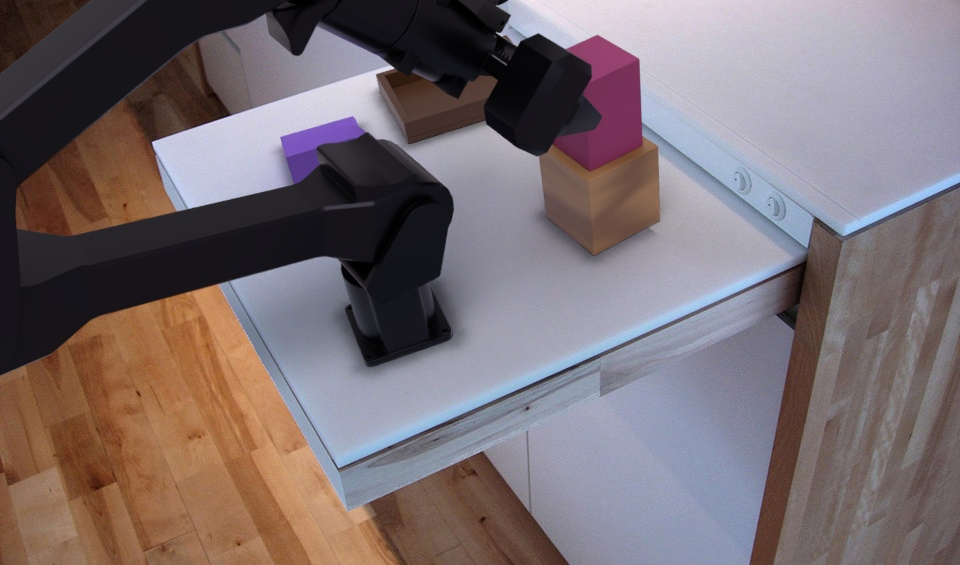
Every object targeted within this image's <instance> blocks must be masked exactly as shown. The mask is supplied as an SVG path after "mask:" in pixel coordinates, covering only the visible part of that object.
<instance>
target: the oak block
mask: <svg viewBox="0 0 960 565" xmlns="http://www.w3.org/2000/svg"><path fill="white" fill-rule="evenodd" d="M642 139H643V145H642V146H640V147H638V148H636V149H634V150H632V151H630V152H628V153H626V154H624V155H623V156H621V157H619V158H617V159H615V160H613V161H611V162H609V163H607V164H605V165H603V166H601V167H599V168H597V169H595V170H593V171H589V170H587V169H586V168H584V167H583V166H582V165H580V164H579V163H578V162H576V161H575V160H574V159H572V158H571V157H569V156H568V155H567V154H565V153H564V152H563V151H561V150H560V149H559V148H557V147H556V146H554V145H553V144H552V146H551V147H550V149H549V151H548V152H547V153H545V154H543V155H540V156H538V160H539V169H540V177H541V185H542V193H543V202H544V203H543V204H544V211H545V217H546V218H547V219H548V220H550V221H551V222H552V223H553V224H555V225H556V226H557V227H558V228H560V229H561V230H562V231H563V232H565V233H566V234H567V235H568V236H569V237H570V238H571V239H572V240H573V241H575V242H576V243H578V244H579V245H580V246H581V247H582V248H583V249H585V250H586V251H587V252H589V253H590V254H591V255H592V256H597V255H599V254H600V253H602V252H604V251H606V250H608V249H609V248H611V247H613V246H615V245H617V244H620V243H621V242H623V241H625V240H627V239H628V238H630V237H632V236H634V235H636V234H638V233H640V232H642V231H643V230H646V229H647V228H649V227H651V226H653V225H654V224H657V223H658V222H660V221H661V209H660V208H661V202H660V201H661V200H660V197H661V196H660V168H659V167H660V164H659V162H660V160H659V159H660V157H659V146H658V144H656V143H654V142H653V141H651V140H650V139H648V138H647V137H646V136H644V135H642Z"/></svg>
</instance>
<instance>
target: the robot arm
mask: <svg viewBox="0 0 960 565" xmlns="http://www.w3.org/2000/svg"><path fill="white" fill-rule="evenodd" d="M507 2H509V0H89V1H88V2H87V3H85V4H84V5H83V6H82V7H80V8H79V9H78V10H77V11H75V13H73V14H71V16H69V17H68V18H67V19H65V21H63V22H62V23H61V24H60V25H59V26H57V27H56V28H54V29H53V30H52V31H51V32H49V34H47V35H46V36H44V37H43V38H42V39H41V40H40V41H39V42H38V43H36V44H35V45H33V46H32V47H31V48H30V49H28V51H26V52H25V53H24V54H22V55H21V56H20V57H19V58H18V59H17V60H15V61H14V62H13V63H11V65H9V66H8V67H7V68H6V69H4V70H3V71H2V72H0V377H2V376H4V375H7V374H9V373H11V372H14V371H16V370H19V369H20V368H23V367H25V366H28V365H30V364H32V363H35V362H37V361H39V360H42V359H44V358H47V357H49V356H51V355H52V354H54V353H55V352H56V351H57V350H58V349H59V348H61V347H62V346H63V345H64V344H65V343H67V341H69V340H70V339H71V338H72V337H73V336H75V335H76V334H77V333H78V332H79V331H80V330H81V329H82V328H84V327H85V326H86V325H87V324H88V323H90V322H91V321H92V320H95V319H97V318H99V317H102V316H105V315H110V314H114V313H118V312H122V311H124V310H129V309H132V308H136V307H140V306H143V305H147V304H150V303H155V302H158V301H161V300H162V301H163V300H165V299H169V298H173V297H176V296H181V295H183V294H188V293H191V292H195V291H199V290H202V289H205V288H206V289H207V288H210V287H213V286H217V285H221V284H224V283H229V282H232V281H235V280H239V279H244V278H247V277H250V276H254V275H259V274H262V273H266V272H269V271H273V270H276V269H280V268H284V267H287V266H291V265H296V264H298V263H302V262H306V261H309V260H313V259H318V258H332V259H337V260H338V261H339V262H340V272H341V276H342V278H343V279H342V280H343V283H344V286H345V289H346V293H347V296H348V299H349V304H347V305H346V306H345V308H344V311H345V314H346V317H347V320H348V322H349V325H350V328H351V331H352V333H353V336H354V338H355V341H356V344H357V346H358V349H359V351H360V354H361V357H362V359H363V362H364V364H365V365H366V366H369V367H372V366H375V365H378V364H382V363H384V362H387V361H391V360H392V359H396V358H398V357H402V356H404V355H406V354H407V355H408V354H410V353H412V352H413V353H414V352H416V351H419V350H421V349H424V348H427V347H429V346H433V345H435V344H438V343H441V342H444V341H447V340H449V339H451V338H452V336H453V330H452V328H451V325H450V324H449V322H448V319H447V317H446V315H445V313H444V311H443V309H442V307H441V305H440V303H439V300H438V299H437V296H436V295H435V293H434V291H433V288H432V287H431V284H430V282H433V281H435V280H436V279H438V278H440V276H441V275H442V274H441V273H442V270H443V263H444V256H445V251H446V244H447V238H448V233H449V228H450V226H451V223H452V222H453V217H454V213H455V205H454V204H455V203H454V197H453V195H452V193H451V191H450V189H449V188H448V187H447V186H446V185H445V184H443V182H441V181H440V180H439V179H438V178H436V177H435V176H434V175H433V174H432V173H431V172H429V171H428V170H427V168H425V167H424V166H423V165H421V164H420V163H419V162H418V161H417V160H416V159H414V157H412V156H411V155H410V154H409V153H407V152H406V150H404V149H403V148H402V147H400V146H399V145H398V144H397V143H395V142H393V141H392V140H389V139H384V138H376V137H375V136H373V135H372V134H371V133H370V132H369V131H365V132H366V133H364V134H363V135H361V136H359V137H358V138H356V139H353V140H350V141H347V142H341V143H324V144H322V145H319V146H317V148H316V152H317V156H318V161H319V165H318V166H317V167H316V168H315V169H314V170H313V171H312V172H311V173H309V174H308V175H307V176H306V177H305V178H304V179H303V180H302V181H300V182H298V183H296V184H294V183H293V184H290V185H285V186H282V187H277V188H273V189H269V190H264V191H260V192H256V193H251V194H247V195H242V196H238V197H234V198H228V199H226V200H220V201H216V202H212V203H209V204H203V205H199V206H195V207H191V208H190V207H189V208H186V209H182V210H177V211H173V212H169V213H163V214H160V215H156V216H152V217H146V218H143V219H138V220H134V221H130V222H125V223H121V224H116V225H112V226H107V227H104V228H99V229H94V230H92V231H87V232H82V233H77V234H71V235H61V234H54V233H47V232H41V231H34V230H28V229H21V228H18V227H17V215H16V214H17V193H18V192H17V191H18V189H19V187H20V186H21V185H22V184H24V183H25V182H26V181H27V180H28V179H30V177H32V176H33V175H34V174H35V173H37V172H38V171H39V170H40V169H42V168H43V167H44V166H45V165H46V164H47V163H49V162H50V161H52V160H53V159H54V158H55V157H56V156H58V155H59V154H60V153H61V152H62V151H63V150H64V149H66V148H67V147H68V146H70V145H71V144H72V143H73V142H74V141H75V140H76V139H78V138H79V137H81V136H82V135H83V134H84V133H85V132H86V131H87V130H89V129H90V128H91V127H92V126H94V125H95V124H96V123H98V121H99V120H101V119H102V118H103V117H104V116H106V115H107V114H108V113H109V112H111V110H113V109H114V108H115V107H117V105H119V104H120V103H121V102H123V101H124V100H125V99H126V98H127V97H129V95H131V94H132V93H134V92H135V91H136V90H137V89H138V88H140V87H141V86H142V85H143V84H144V83H145V82H147V81H148V80H149V79H150V78H151V77H152V76H154V75H155V74H157V73H158V72H159V71H160V70H161V69H162V68H164V67H165V66H166V65H167V64H168V63H170V62H171V61H172V60H174V58H176V57H177V56H178V55H179V54H180V53H182V52H183V51H184V50H186V49H187V48H189V47H191V46H192V45H194V44H196V43H197V42H199V41H202V39H204V38H206V37H209V36H212V35H216V34H219V33H222V32H227V31H230V30H232V29H236V28H240V27H244V26H247V25H249V24H251V23H252V22H254V21H256V20H258V19H259V18H261V17H263V16H265V18H266V25H267V31H268V34H269V35H270V36H271V37H272V38H273V39H274V40H275V41H276V42H277V43H279V44H280V45H281V46H282V47H283V48H284V49H286V51H288V52H289V53H290V54H291V55H292V56H293V57H299V56H301V55H303V54H304V52H305V50H306V48H307V46H308V44H309V42H310V41H311V38H312V36H313V34H314V32H315V30H316V28H319V29H322V30H323V31H324V32H327V33H329V34H332V35H334V36H336V37H338V38H340V39H342V40H344V41H346V42H348V43H350V44H352V45H354V46H357V47H359V48H361V49H363V50H365V51H367V52H369V53H370V54H373V55H375V56H377V57H379V58H381V60H383V61H385V62H386V63H387V64H388V65H389V66H390V67H392V69H396V70H397V71H399V72H402V73H404V74H406V75H408V76H410V75H411V73H412V72H413V73H415V74H417V75H419V76H421V77H423V78H425V79H428V80H430V81H432V83H433V84H435V85H436V86H437V87H438V88H440V89H441V90H442V91H444V92H445V93H446V94H448V95H450V96H452V97H454V98H457V99H459V97H460V96H461V94H462V92H463V90H464V88H465V87H466V85H467V83H468V81H469V82H473V81H475V80H476V79H477V78H478V77H479V76H491V77H494V78H495V79H497V80H498V81H497V83H496V85H495V87H494V88H493V90H492V92H491V94H490V95H489V97H488V99H487V101H486V102H485V104H484V106H483V107H484V113H485V120H484V121H485V124H486V125H487V126H488V127H489V128H491V129H492V130H493V131H494V132H496V133H497V134H498V135H499V136H501V137H502V138H503V139H505V140H506V141H507V142H508V143H510V144H511V145H512V146H514V147H515V148H516V149H519V150H521V151H523V152H526V153H528V154H530V155H532V156H534V157H537V158H539V156H540V155H543V154H545V153H547V152H548V151H549V149H550V147H551V146H552V144H553V142H554V141H555V139H556V138H558V137H563V136H567V135H572V134H577V133H582V132H587V131H592V130H595V129H596V127H597V126H598V124H599V122H600V121H601V119H602V115H601V114H600V113H599V111H598V110H597V109H596V108H595V107H594V106H593V105H592V104H591V103H590V102H589V100H588V99H587V98H586V97H585V96H584V95H583V94H582V93H583V92H584V90H585V88H586V87H587V85H588V83H589V82H590V80H591V78H592V65H591V64H589V63H588V62H586V61H584V60H583V59H581V58H579V57H578V56H576V55H574V54H573V53H571V52H570V51H568V50H566V49H567V48H565V47H563V46H561V45H560V44H558V43H556V42H555V41H553V40H551V39H550V38H547V37H546V36H545V35H543V34H542V33H539V32H537V33H535V34H532V35H531V36H529V37H526V38H524V39H522V40H520V41H519V43H518V44H517V45H516V44H515V43H514V42H513V43H511V42H510V41H508V40H507V39H505V38H504V37H502V36H503V35H501V33H502V32H503V31H504V29H505V27H506V25H507V24H508V22H509V20H510V18H511V17H512V14H510V13H509V12H507V11H506V10H504V9H502V8H500V7H499V6H501V5H503V4H506V3H507Z"/></svg>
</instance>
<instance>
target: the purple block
mask: <svg viewBox="0 0 960 565" xmlns="http://www.w3.org/2000/svg"><path fill="white" fill-rule="evenodd" d="M366 132H367V131H365V130H364V129H363V128H361V127H360V126H359V124H358V121H357V119H356V118H355V117H354V116H353V115H352V116H348V117H344V118H342V119H338V120H334V121H331V122H328V123H327V122H326V123H323V124H320V125H317V126H313V127H310V128H306V129H303V130H300V131H295V132H292V133H289V134H285V135H282V136H279V139H280V142H281V145H282V150H283V153H284V156H285V159H286V163H287V165H288V169H289V171H290V174H291V178H292V182H293V184H296V183H298V182H300V181H302V180H303V179H304V178H305V177H306V176H307V175H308V174H309V173H311V172H312V171H313V170H314V169H315V168H316V167H317V166H318V165H319V161H318V156H317V152H316V148H317V146H319V145H322V144H324V143H341V142H347V141H350V140H353V139H356V138H358V137H359V136H361V135H363V134H364V133H366Z"/></svg>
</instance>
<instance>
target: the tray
mask: <svg viewBox="0 0 960 565" xmlns="http://www.w3.org/2000/svg"><path fill="white" fill-rule="evenodd" d="M501 36H502V37H504V38H505V39H507V40H508V41H510V42H511V43H513V44H514V42H513V41H512V40H511V39H510V38H509V36H508V35H505V34H504V35H501ZM375 77H376V82H377V86H378V90H379V94H380V96H381V98H382V99H383V101H384V103H385V105H386V108H388V110H389V112H390V114H391V115H392V118H393V119H394V121H395V123H396V125H397V126H398V128H399V129H400V131H401V134H402V135H403V137H404V138H405V140H406V142H407V144H409V145H410V144H413V143H416V142H419V141H422V140H425V139H429V138H431V137H435V136H438V135H441V134H444V133H447V132H451V131H454V130H457V129H460V128H463V127H467V126H470V125H473V124H477V123H479V122H484V121H486V120H485V113H484V107H483V106H484V104H485V102H486V101H487V99H488V97H489V95H490V94H491V92H492V90H493V88H494V87H495V85H496V83H497V81H498V80H497V79H495V78H494V77H491V76H479V77H478V78H477V79H476V80H475V81H473V82H469V81H468V83H467V85H466V87H465V88H464V90H463V92H462V94H461V96H460V97H459V99H457V98H454V97H452V96H450V95H448V94H446V93H445V92H444V91H442V90H441V89H440V88H438V87H437V86H436V85H435V84H433V83H432V81H430V80H428V79H425V78H423V77H421V76H419V75H417V74H415V73H413V72H412V73H411V75H410V76H408V75H406V74H404V73H402V72H399V71H397V70H396V69H395V68H392V69H391V68H390V69H388V70H385V71H381V72H379V73H378V72H377V73H376V74H375Z"/></svg>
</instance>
